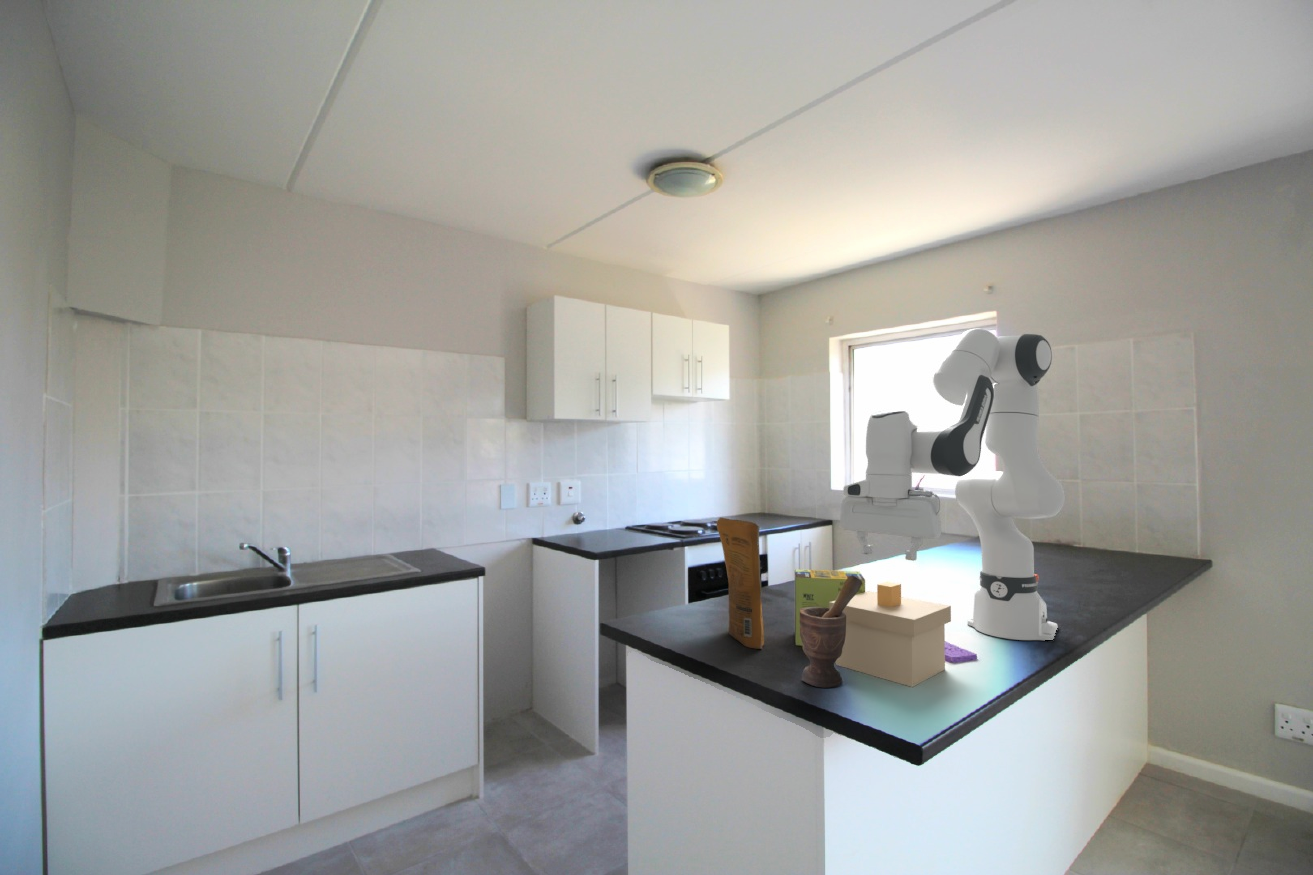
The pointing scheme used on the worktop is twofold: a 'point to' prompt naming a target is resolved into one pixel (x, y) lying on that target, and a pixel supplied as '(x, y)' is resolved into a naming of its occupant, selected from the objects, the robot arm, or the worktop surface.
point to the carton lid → (895, 611)
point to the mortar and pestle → (826, 636)
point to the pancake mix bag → (743, 580)
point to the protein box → (818, 590)
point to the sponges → (957, 654)
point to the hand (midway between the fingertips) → (888, 556)
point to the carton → (893, 653)
